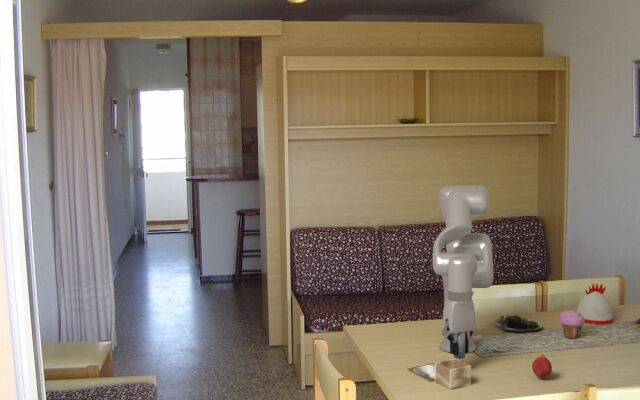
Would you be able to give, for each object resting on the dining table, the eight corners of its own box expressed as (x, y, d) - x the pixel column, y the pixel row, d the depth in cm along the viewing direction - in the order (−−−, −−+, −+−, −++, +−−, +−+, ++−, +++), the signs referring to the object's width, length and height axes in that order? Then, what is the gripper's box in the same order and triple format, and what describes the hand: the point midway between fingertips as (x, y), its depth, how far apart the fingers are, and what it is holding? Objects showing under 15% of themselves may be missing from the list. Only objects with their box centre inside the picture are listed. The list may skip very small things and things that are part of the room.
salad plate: (482, 321, 270) (482, 310, 269) (522, 318, 273) (522, 307, 273) (505, 335, 251) (506, 323, 250) (548, 332, 255) (548, 320, 254)
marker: (460, 357, 214) (460, 326, 213) (467, 361, 210) (468, 328, 210) (451, 359, 212) (451, 327, 211) (458, 362, 209) (458, 330, 208)
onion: (528, 376, 208) (529, 351, 207) (546, 375, 209) (547, 350, 208) (536, 382, 203) (537, 357, 202) (554, 382, 203) (555, 356, 202)
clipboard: (446, 361, 223) (446, 357, 222) (470, 372, 212) (470, 368, 212) (407, 369, 215) (407, 366, 215) (430, 381, 204) (430, 377, 204)
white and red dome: (618, 324, 262) (619, 287, 261) (583, 325, 263) (584, 287, 261) (604, 315, 276) (605, 279, 275) (570, 315, 276) (571, 280, 275)
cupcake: (576, 342, 241) (577, 315, 240) (554, 336, 248) (554, 310, 247) (588, 336, 247) (589, 310, 246) (566, 331, 254) (567, 306, 253)
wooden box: (454, 377, 208) (454, 358, 208) (470, 385, 201) (471, 365, 201) (434, 381, 204) (434, 362, 204) (450, 390, 198) (451, 370, 197)
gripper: (471, 291, 217) (471, 346, 218) (431, 296, 209) (431, 354, 210) (487, 295, 210) (487, 352, 212) (446, 301, 203) (446, 360, 204)
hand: (459, 352), depth 211 cm, fingers closed on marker, 3 cm apart
